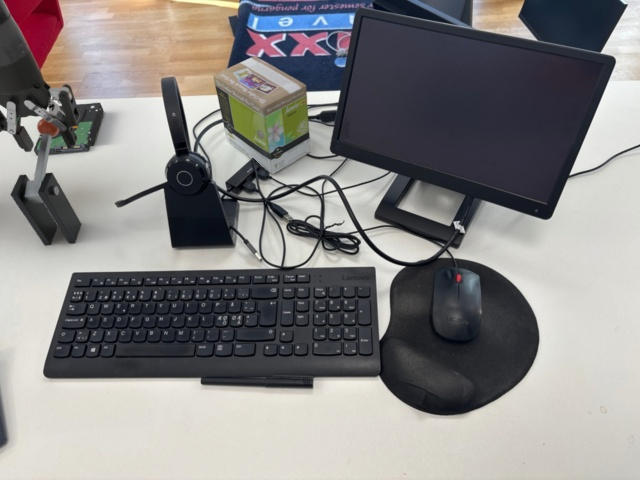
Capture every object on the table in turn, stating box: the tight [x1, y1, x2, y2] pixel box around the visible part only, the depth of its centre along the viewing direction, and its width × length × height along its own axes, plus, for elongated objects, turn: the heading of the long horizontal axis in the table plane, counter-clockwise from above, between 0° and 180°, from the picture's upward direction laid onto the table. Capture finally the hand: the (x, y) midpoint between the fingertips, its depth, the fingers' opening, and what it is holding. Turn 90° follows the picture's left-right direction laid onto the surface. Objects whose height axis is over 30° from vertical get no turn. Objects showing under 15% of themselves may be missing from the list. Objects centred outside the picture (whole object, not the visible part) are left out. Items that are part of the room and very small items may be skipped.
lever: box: [24, 117, 59, 204], centre depth 81 cm, size 15×3×3 cm, turn 4°
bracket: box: [10, 172, 82, 246], centre depth 82 cm, size 10×8×13 cm
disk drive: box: [33, 102, 105, 157], centre depth 105 cm, size 10×3×15 cm
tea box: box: [212, 55, 311, 175], centre depth 96 cm, size 15×10×15 cm
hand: (51, 146), depth 84 cm, fingers open, 6 cm apart
